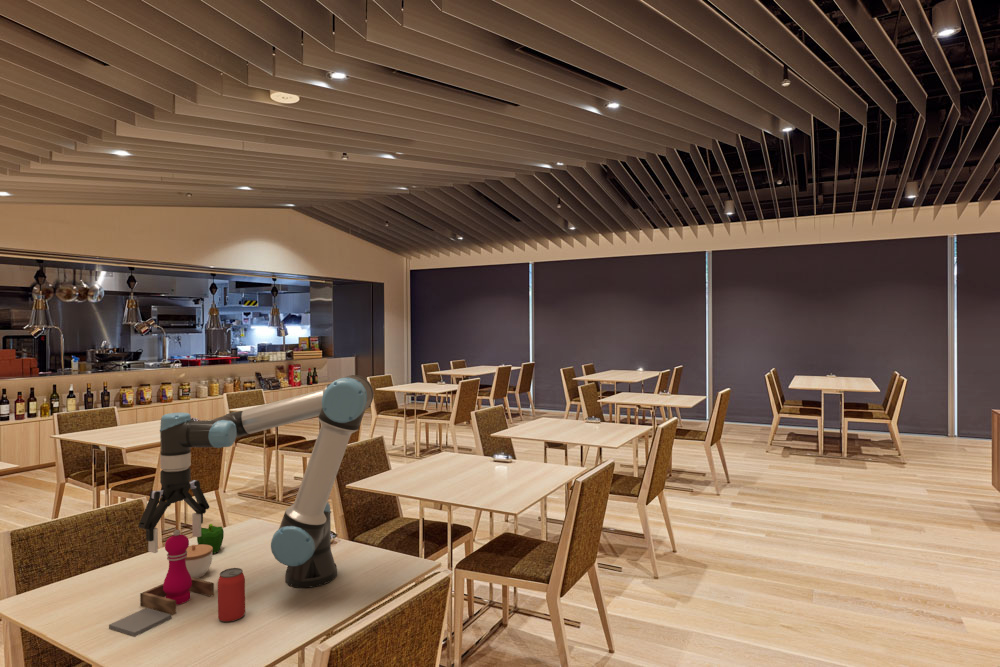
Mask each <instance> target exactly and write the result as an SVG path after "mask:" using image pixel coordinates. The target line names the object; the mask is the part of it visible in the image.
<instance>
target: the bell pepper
mask: <svg viewBox="0 0 1000 667" xmlns="http://www.w3.org/2000/svg"><path fill="white" fill-rule="evenodd" d="M224 536H225V533H224V527H223V526H215V525H213V524H212V523H209V524H208V528H206V527H201V537H196V541H197V545H200V544H204V545H210V546H212V547H213V552H212V554H215V553H218V552H219V551H220V549H221V547H222V544H223V541H224Z"/></svg>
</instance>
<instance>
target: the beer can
mask: <svg viewBox="0 0 1000 667" xmlns="http://www.w3.org/2000/svg"><path fill="white" fill-rule="evenodd" d="M245 614H246V577H245V574H244V570H243V569H242V568H240V567H231V568H225V569H223V570H222V571H220V573H219V578H218V580H217V617H218V620H219V621H220V622H224V623H229V622H235V621H238V620H240V619H241V618H243V617H244V615H245Z"/></svg>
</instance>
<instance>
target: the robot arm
mask: <svg viewBox="0 0 1000 667" xmlns="http://www.w3.org/2000/svg"><path fill="white" fill-rule="evenodd" d="M374 396H375V393H374V389H373V386H372V384H371V382H370V381H369V380H368V379H367V378H365V377H363V376H362V375H358V374H357V375H356V374H351V375H346V376H345V377H341V378H338V379H336V380H334V381H332V382H330V383H327V384H326V385H325V386H324V387H323V389H318V390H314V391H310V392H307V393H303V394H299V395H295V396H291V397H288V398H284V399H281V400H277V401H272V402H270V403H265V404H262V405H257V406H253V407H250V408H246V409H243V410H239V411H233V412H228V413H226V414H225V415H222V416H219V417H216V418H213V419H209V420H193V419H192V416H191V414H190V413H189V412H170V413H165V414H163V415H162V416H161V417H160V426H159V434H160V435H159V436H160V457H159V458H160V466H159V467H160V470H161V471H160V473H159V474H160V475H159V476H160V477H159V479H160V480H159V481H160V484H161V488H160V490H151V491H150V492H149V497H148V498H149V499H148V502H147V504H146V506H145V508H144V511H143V514H142V516H141V518H140V521H139V524H138V525H137V526H138V529H139V528H140V529H142V530H143V529H144V530H145V540H146V541H147V542H148V544H147V545H148V546H147V547H148V548H147V549H148V551H147V552H148V553H153V554H156V553H158V551H159V546H158V544H159V543H158V542H159V538H158V536H159V533H158V531H159V529H158V528H157V525H158V523H159V522H160V520H161V519H162V517H163V515H164V514H165V512H166V510H167V509H168V507H170V506H171V505H172V504H176V503H177V502H182V501H184V502H185V503H186V504H187V505H188V506H189V507H190V508H191V509H192V510H193V511H194V513H192V518H191V519H192V536H191V537H195V538H197V537H201V528H202V525H203V523H204V515H205V513H206V512H207V510H210V505H209V502H208V500H207V498H206V497H205V494H204V492H203V490H202V489H201V483H200V482H201V481H200V480H197V479H196V480H195V479H191V477H192V474H191V468H190V467H191V466H192V462H191V461H192V458H191V457H192V456H191V455H192V453H191V452H192V451H191V448H216V449H221V448H229V447H232V446H233V445H234V443H235V441H236V438H241V437H244V436H247V435H250V434H255V433H258V432H262V431H267V430H271V429H274V428H277V427H282V426H287V425H289V424H290V425H291V424H293V423H297V422H301V421H305V420H308V419H313V418H316V417H318V421H319V422H320V423H319V424H320V425H321V426H320V429H319V432H318V435H317V437H316V439H315V442H314V446H313V449H312V452H311V454H310V457H309V460H308V463H307V465H306V468H305V471H304V474H303V477H302V480H301V482H300V485H299V487H298V488H299V489H298V490H297V493H296V496H295V500H294V502H293V503H292V504H291V505H290V506H287V507H286V509H285V510H284V514H283V516H282V520H281V523H280V525H279V528H277V530H276V531H275V533H274V534H273V535H272V538H271V541H270V550H271V553H272V555H273V556H274V558H275V560H277V562H279V563H280V564H282V565H283V566H287V568H286V570H285V573H284V574H285V576H284V578H285V579H284V582H285V583H286V585H288V586H290V587H294V588H300V589H301V588H302V589H303V588H314V587H319V586H322V585H325V584H328V583H330V582H331V581H333V580H335V579H336V577H337V576H338V567H337V564H336V563H335V560H334V556H333V553H332V547H331V546H332V545H331V543H332V542H331V541H332V540H331V538H332V536H331V535H332V534H331V533H332V532H331V531H332V530H331V525H332V523H331V513H332V511H331V505H330V503H329V501H328V500H329V498H330V495H331V492H332V489H333V486H334V484H335V480H336V479H337V478H336V477H337V476H338V473H339V472H338V471H339V470H340V467H341V464H342V461H343V458H344V456H345V453H346V450H347V446H348V443H349V441H350V439H351V435H353V434H354V433H356V432H358V431H359V429H360V426H361V423H362V421H363V418H364V416H365V413H366V410H368V409H369V408H370V406H371V405H372V403H373V401H374ZM190 490H191V492H192V493H193V496H194V497H193V496H192V494H191V493H190Z"/></svg>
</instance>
